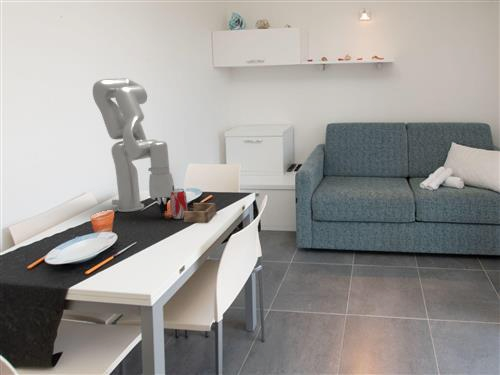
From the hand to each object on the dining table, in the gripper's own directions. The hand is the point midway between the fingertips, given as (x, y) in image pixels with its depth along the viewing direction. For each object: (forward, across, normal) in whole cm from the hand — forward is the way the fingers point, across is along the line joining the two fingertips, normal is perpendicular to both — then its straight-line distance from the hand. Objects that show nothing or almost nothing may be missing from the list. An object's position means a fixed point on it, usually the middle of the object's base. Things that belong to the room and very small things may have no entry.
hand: (164, 212), depth 219 cm
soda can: (+3, +7, 0) cm, 7 cm away
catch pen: (+2, +16, 0) cm, 16 cm away
